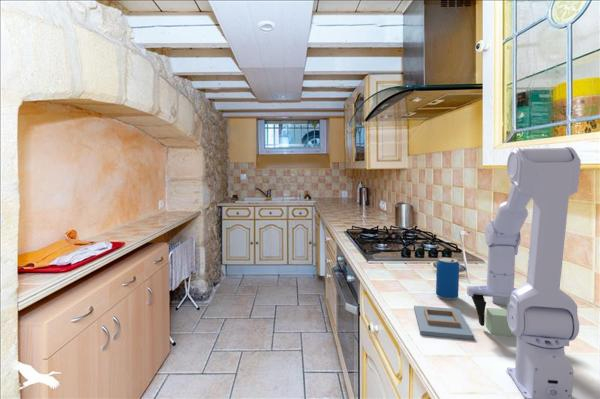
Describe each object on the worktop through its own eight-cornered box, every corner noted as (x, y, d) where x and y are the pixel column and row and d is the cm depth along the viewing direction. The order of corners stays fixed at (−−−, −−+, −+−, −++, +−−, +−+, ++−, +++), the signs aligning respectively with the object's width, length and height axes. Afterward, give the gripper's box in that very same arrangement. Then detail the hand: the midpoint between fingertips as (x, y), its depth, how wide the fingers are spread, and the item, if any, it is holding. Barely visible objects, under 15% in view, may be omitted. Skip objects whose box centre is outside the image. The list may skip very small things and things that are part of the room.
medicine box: (497, 295, 110) (498, 269, 109) (513, 298, 107) (514, 271, 106) (492, 303, 104) (493, 274, 103) (509, 306, 101) (510, 277, 100)
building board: (473, 339, 81) (474, 331, 81) (420, 334, 84) (420, 326, 84) (458, 312, 97) (458, 305, 97) (414, 308, 100) (414, 302, 99)
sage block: (511, 336, 83) (512, 316, 83) (491, 334, 84) (491, 314, 84) (504, 328, 87) (505, 309, 87) (485, 326, 88) (486, 307, 88)
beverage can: (460, 301, 105) (461, 262, 104) (437, 300, 106) (439, 261, 105) (455, 293, 111) (456, 257, 110) (434, 292, 113) (435, 256, 112)
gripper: (527, 269, 87) (524, 321, 88) (464, 265, 90) (462, 316, 91) (539, 277, 80) (536, 334, 81) (471, 273, 83) (469, 328, 84)
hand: (498, 325), depth 85 cm, fingers open, 7 cm apart
